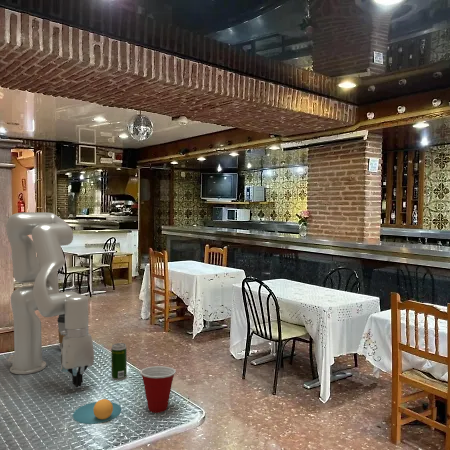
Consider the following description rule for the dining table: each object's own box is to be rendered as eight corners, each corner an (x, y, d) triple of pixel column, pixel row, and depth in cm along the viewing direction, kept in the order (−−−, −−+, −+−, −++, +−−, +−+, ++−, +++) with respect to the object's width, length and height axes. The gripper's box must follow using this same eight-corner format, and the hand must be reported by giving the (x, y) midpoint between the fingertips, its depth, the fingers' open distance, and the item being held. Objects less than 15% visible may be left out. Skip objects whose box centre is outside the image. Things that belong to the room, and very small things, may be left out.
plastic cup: (181, 403, 136) (181, 366, 136) (166, 419, 126) (166, 378, 125) (151, 398, 140) (151, 361, 139) (133, 413, 129) (133, 374, 129)
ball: (91, 406, 123) (89, 421, 125) (110, 411, 123) (107, 425, 125) (98, 393, 128) (96, 406, 130) (116, 397, 128) (114, 411, 130)
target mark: (62, 420, 125) (62, 419, 125) (90, 399, 139) (90, 399, 139) (105, 426, 121) (105, 426, 121) (129, 405, 135) (129, 404, 135)
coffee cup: (60, 346, 192) (60, 313, 192) (80, 345, 193) (79, 312, 193) (55, 352, 184) (54, 317, 184) (75, 352, 185) (74, 317, 184)
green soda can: (129, 378, 156) (129, 345, 156) (115, 381, 153) (115, 348, 153) (122, 373, 161) (122, 341, 160) (109, 377, 157) (108, 344, 157)
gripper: (56, 338, 138) (57, 395, 139) (102, 331, 147) (102, 384, 148) (50, 333, 144) (51, 387, 145) (95, 326, 153) (95, 377, 154)
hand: (77, 385), depth 146 cm, fingers closed
